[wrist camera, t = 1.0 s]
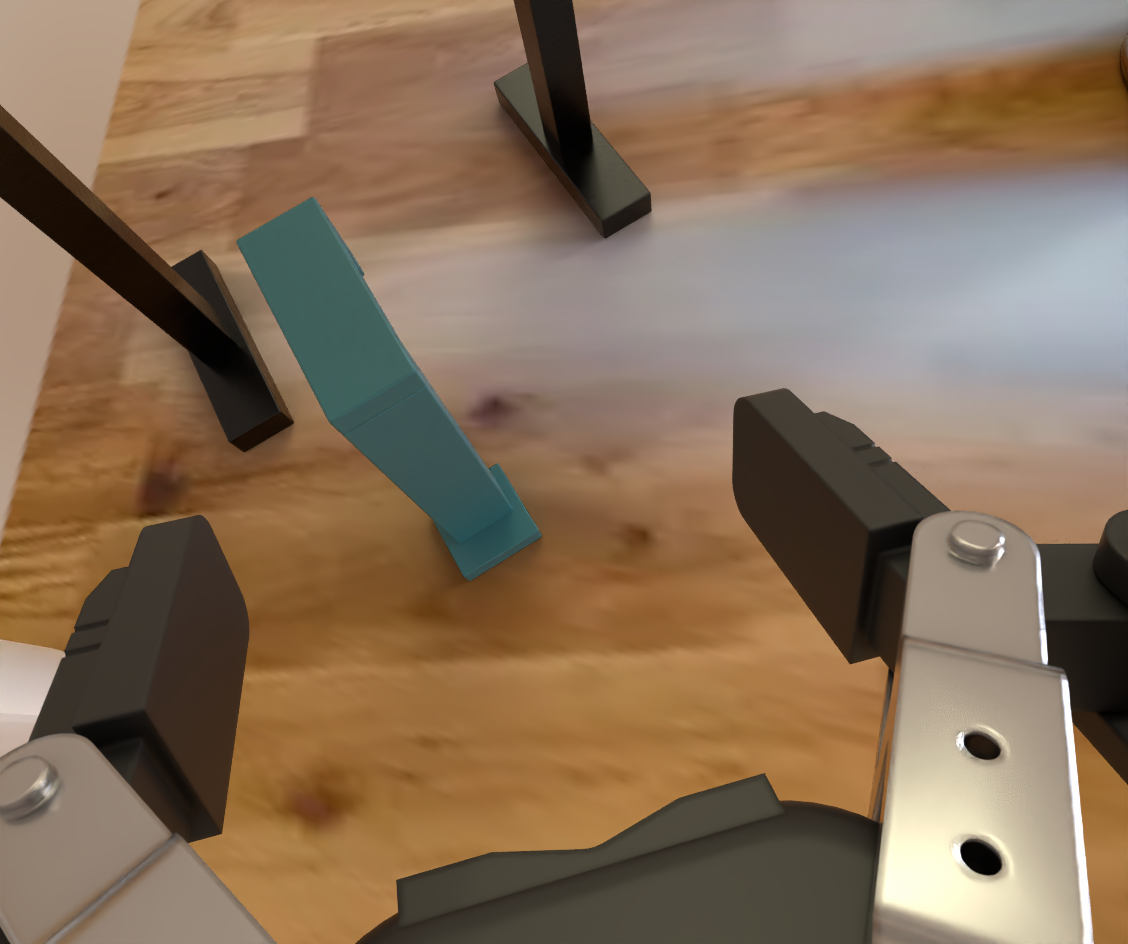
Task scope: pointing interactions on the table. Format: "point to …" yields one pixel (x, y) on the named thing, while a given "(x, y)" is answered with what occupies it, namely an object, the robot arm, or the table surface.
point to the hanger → (381, 388)
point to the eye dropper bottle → (23, 689)
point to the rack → (195, 286)
